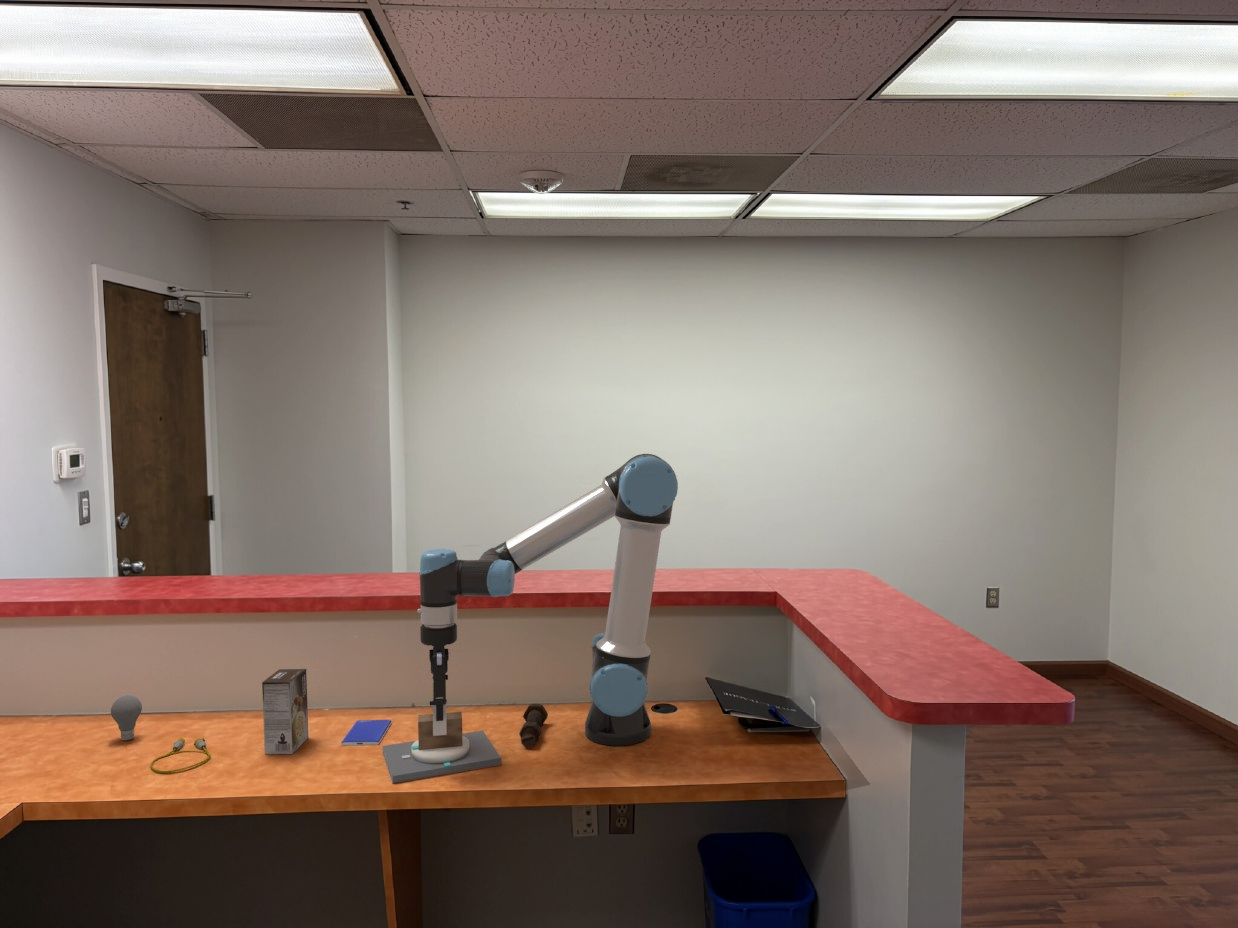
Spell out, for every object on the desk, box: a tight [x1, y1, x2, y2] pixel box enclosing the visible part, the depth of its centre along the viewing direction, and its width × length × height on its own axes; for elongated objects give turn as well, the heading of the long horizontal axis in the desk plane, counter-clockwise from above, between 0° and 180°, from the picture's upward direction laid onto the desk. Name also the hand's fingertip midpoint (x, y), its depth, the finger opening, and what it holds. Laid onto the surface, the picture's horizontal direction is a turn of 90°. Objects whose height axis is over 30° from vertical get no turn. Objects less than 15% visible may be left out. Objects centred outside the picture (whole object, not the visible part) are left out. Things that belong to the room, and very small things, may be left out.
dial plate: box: [382, 730, 502, 784], centre depth 173 cm, size 22×16×2 cm
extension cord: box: [150, 737, 212, 775], centre depth 174 cm, size 12×16×2 cm
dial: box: [411, 711, 469, 763], centre depth 173 cm, size 12×12×8 cm
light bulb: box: [110, 694, 143, 741], centre depth 184 cm, size 6×6×10 cm
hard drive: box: [340, 719, 392, 746], centre depth 187 cm, size 2×8×12 cm
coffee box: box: [261, 668, 309, 755], centre depth 180 cm, size 9×6×16 cm
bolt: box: [518, 703, 549, 748], centre depth 185 cm, size 6×5×15 cm
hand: (439, 722), depth 173 cm, fingers open, 13 cm apart
